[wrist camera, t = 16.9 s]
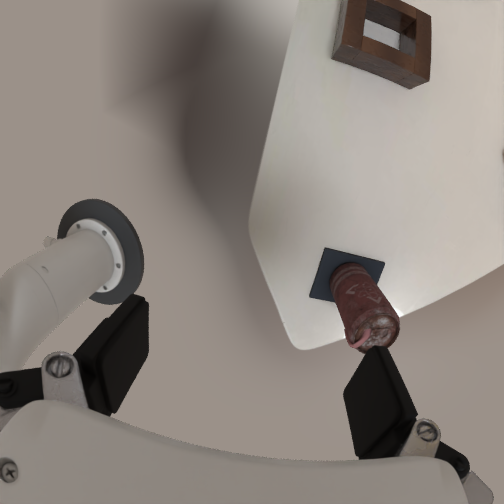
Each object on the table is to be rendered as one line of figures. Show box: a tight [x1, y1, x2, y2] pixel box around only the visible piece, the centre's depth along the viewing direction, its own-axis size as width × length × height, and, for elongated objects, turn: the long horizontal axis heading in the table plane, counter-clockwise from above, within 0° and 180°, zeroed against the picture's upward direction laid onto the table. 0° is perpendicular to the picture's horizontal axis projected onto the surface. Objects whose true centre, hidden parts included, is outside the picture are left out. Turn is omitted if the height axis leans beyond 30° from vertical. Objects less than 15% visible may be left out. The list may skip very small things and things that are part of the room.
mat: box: [309, 248, 385, 302], centre depth 39 cm, size 10×8×1 cm
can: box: [330, 263, 400, 354], centre depth 32 cm, size 6×6×14 cm
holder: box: [332, 0, 431, 89], centre depth 24 cm, size 12×12×6 cm
